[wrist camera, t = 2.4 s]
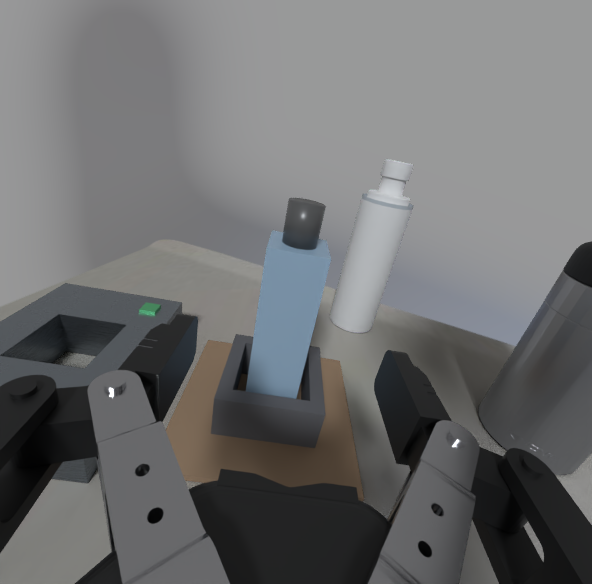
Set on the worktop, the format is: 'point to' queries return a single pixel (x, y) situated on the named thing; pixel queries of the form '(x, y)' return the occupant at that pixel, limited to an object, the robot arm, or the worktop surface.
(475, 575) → the worktop surface
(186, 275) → the worktop surface
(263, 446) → the holster
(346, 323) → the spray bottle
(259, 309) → the plug
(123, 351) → the port block
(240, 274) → the worktop surface
